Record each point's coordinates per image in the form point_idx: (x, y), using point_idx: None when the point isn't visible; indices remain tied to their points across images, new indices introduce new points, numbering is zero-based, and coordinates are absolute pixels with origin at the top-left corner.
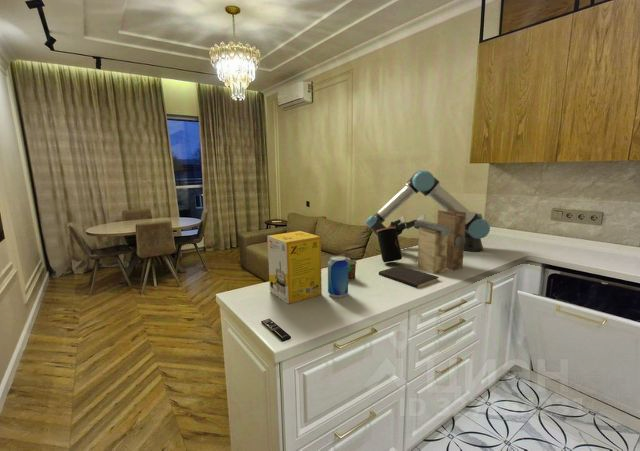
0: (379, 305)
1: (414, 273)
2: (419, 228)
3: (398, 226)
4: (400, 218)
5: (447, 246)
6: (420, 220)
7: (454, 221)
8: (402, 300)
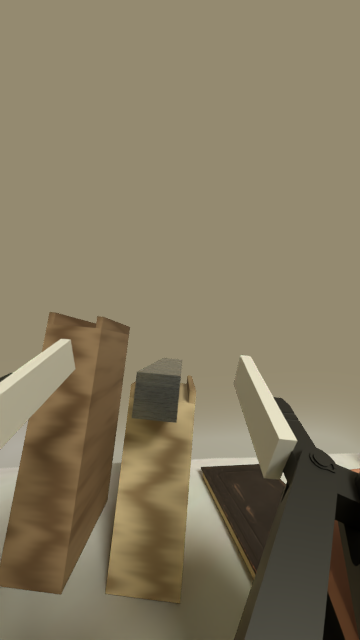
0: (343, 462)
1: (248, 504)
2: (195, 394)
3: (239, 625)
4: (263, 384)
5: (107, 437)
6: (148, 371)
7: (126, 348)
8: None
